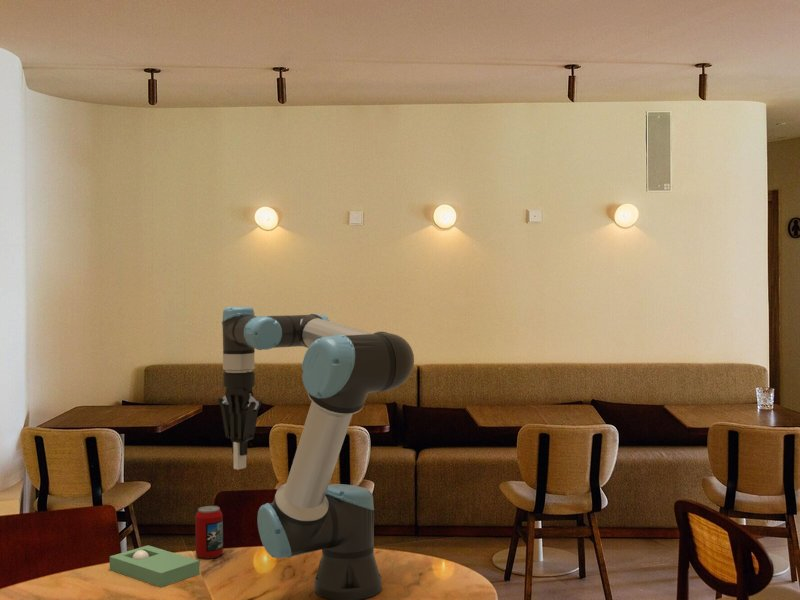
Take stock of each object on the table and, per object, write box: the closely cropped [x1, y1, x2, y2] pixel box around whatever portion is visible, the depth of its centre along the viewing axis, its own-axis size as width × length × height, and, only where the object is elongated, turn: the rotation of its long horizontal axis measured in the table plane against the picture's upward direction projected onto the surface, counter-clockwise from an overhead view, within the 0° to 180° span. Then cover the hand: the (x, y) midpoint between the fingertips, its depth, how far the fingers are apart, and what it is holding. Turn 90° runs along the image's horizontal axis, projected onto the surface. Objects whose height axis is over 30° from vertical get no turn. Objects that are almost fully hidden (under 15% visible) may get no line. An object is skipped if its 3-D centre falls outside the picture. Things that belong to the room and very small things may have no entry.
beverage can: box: [194, 505, 224, 560], centre depth 216 cm, size 7×7×12 cm
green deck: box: [109, 545, 201, 588], centre depth 204 cm, size 20×11×3 cm, turn 53°
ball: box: [132, 550, 149, 560], centre depth 207 cm, size 4×4×4 cm
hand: (239, 468), depth 206 cm, fingers closed
